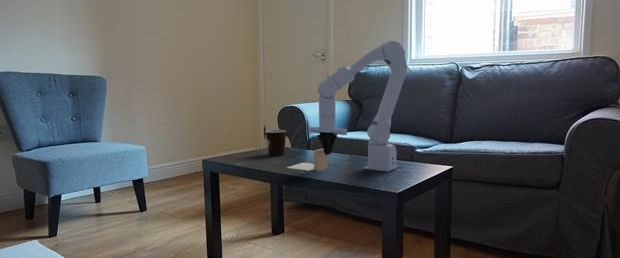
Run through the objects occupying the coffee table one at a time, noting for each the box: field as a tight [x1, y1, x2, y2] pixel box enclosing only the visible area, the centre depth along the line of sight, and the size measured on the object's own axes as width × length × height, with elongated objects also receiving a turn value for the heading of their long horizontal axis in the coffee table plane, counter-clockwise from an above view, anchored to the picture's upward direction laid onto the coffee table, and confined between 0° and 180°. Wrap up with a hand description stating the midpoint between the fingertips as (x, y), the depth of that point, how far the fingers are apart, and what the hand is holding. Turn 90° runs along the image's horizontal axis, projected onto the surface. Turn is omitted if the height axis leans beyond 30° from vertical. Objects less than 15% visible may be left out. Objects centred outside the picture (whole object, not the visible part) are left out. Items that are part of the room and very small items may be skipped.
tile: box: [313, 147, 329, 172], centre depth 160 cm, size 2×6×7 cm, turn 145°
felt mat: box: [286, 162, 314, 172], centre depth 164 cm, size 10×10×1 cm
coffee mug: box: [265, 129, 287, 157], centre depth 188 cm, size 12×9×10 cm
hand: (327, 154), depth 158 cm, fingers closed
